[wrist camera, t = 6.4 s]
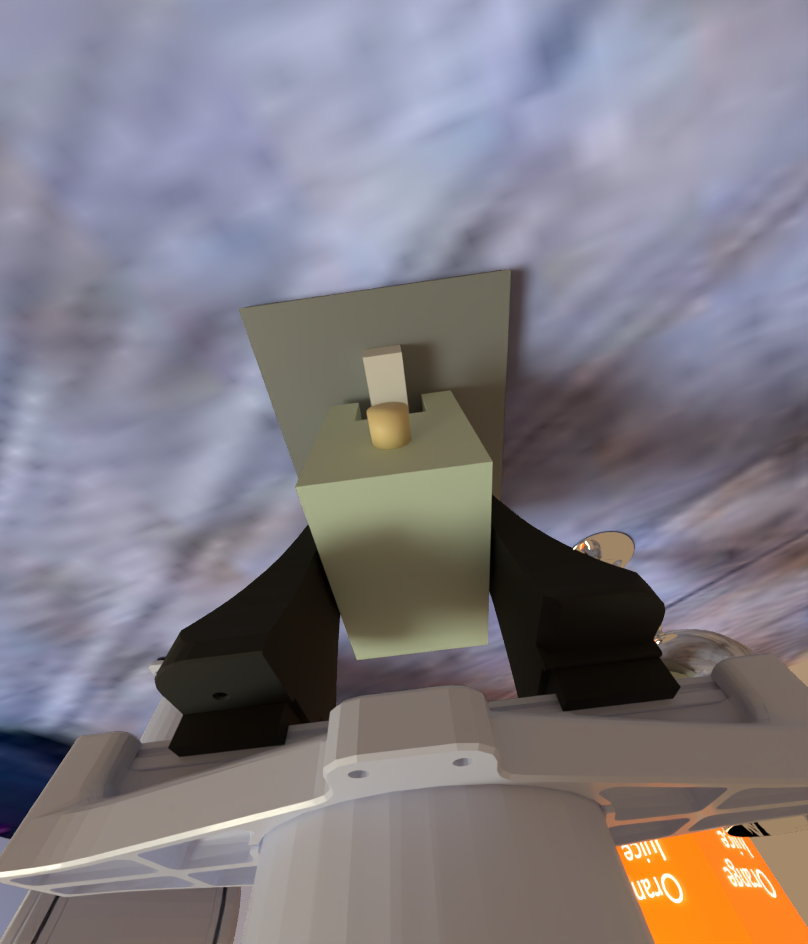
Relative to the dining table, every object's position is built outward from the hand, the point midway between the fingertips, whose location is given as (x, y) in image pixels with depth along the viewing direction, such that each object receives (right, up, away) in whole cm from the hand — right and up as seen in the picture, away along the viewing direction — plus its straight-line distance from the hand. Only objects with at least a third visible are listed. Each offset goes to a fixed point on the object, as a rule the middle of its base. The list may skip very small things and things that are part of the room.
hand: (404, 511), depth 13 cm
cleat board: (0, +2, +3) cm, 4 cm away
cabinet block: (0, +1, +2) cm, 2 cm away
